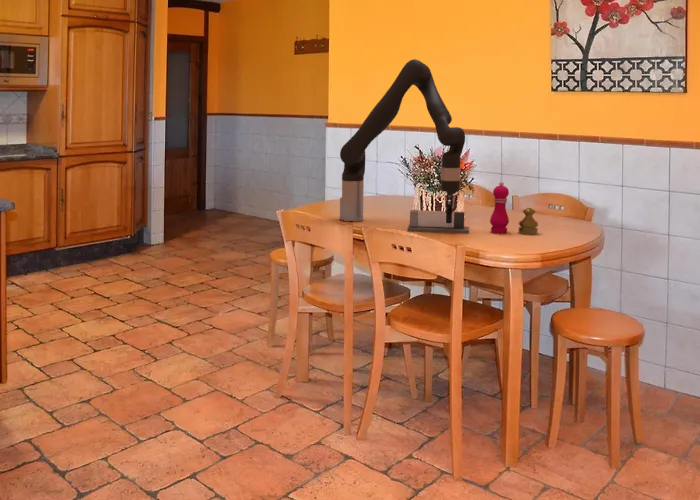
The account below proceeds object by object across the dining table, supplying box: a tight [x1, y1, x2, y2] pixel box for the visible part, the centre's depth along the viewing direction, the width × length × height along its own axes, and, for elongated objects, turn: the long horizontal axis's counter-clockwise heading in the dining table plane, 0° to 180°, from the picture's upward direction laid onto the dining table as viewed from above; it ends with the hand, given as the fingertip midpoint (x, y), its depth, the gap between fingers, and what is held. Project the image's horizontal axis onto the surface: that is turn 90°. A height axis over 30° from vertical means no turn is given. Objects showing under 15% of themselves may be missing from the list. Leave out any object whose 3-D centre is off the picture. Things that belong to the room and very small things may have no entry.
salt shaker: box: [518, 207, 539, 236], centre depth 273 cm, size 7×7×10 cm
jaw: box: [418, 210, 465, 228], centre depth 277 cm, size 18×1×6 cm, turn 80°
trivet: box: [407, 223, 470, 235], centre depth 279 cm, size 24×9×1 cm, turn 80°
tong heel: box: [409, 209, 420, 227], centre depth 279 cm, size 3×5×6 cm, turn 170°
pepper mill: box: [489, 181, 510, 235], centre depth 274 cm, size 7×7×20 cm
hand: (448, 222), depth 277 cm, fingers open, 2 cm apart
